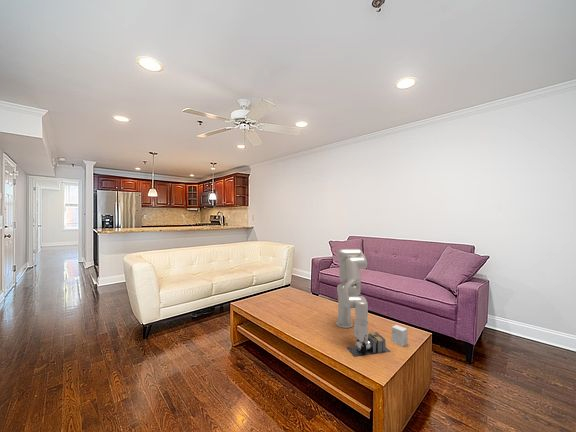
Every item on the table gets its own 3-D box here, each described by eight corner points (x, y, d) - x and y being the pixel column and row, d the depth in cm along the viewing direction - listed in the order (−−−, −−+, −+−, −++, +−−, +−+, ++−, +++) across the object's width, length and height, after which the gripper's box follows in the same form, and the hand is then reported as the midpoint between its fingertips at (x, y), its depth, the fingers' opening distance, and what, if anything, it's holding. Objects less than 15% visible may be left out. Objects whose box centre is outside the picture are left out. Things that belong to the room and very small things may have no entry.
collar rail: (345, 348, 164) (345, 334, 164) (380, 343, 169) (381, 330, 169) (354, 358, 153) (354, 343, 153) (391, 352, 159) (391, 338, 158)
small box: (407, 344, 168) (407, 328, 168) (402, 347, 165) (402, 331, 164) (396, 339, 174) (396, 324, 174) (391, 342, 171) (391, 326, 171)
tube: (359, 352, 157) (359, 343, 157) (355, 348, 162) (355, 340, 162) (386, 348, 161) (385, 339, 161) (381, 345, 166) (380, 337, 166)
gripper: (349, 315, 167) (349, 343, 168) (362, 327, 151) (362, 358, 151) (360, 314, 169) (360, 342, 169) (374, 326, 152) (374, 356, 153)
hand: (361, 349), depth 160 cm, fingers closed on tube, 5 cm apart
